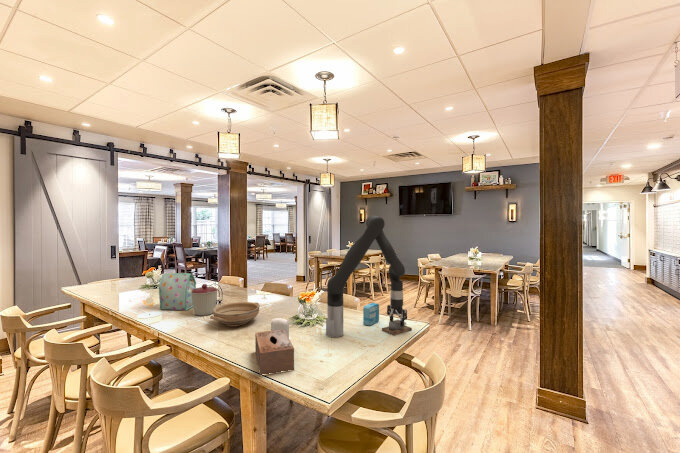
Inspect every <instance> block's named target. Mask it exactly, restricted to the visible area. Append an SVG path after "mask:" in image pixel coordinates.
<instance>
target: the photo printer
mask: <svg viewBox="0 0 680 453" xmlns="http://www.w3.org/2000/svg"><path fill="white" fill-rule="evenodd" d="M282 329H284V330H285V332H286V334H287V336H288V338H289V339H290V322H289V320H288V319H285V318H282V317H281V318H280V317H276V318H272V319H271V321H270V331H274V330H282Z"/></svg>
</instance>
